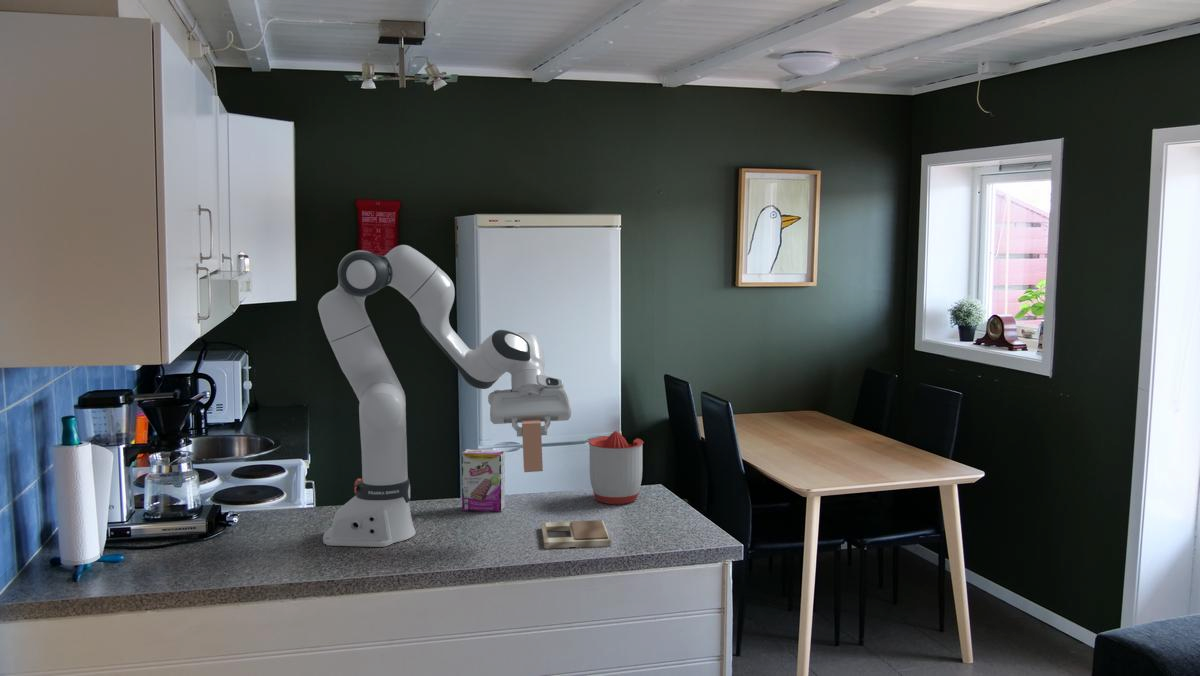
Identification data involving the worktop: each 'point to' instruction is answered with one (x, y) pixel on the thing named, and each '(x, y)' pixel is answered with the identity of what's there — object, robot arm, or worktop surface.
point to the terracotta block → (532, 445)
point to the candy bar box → (483, 480)
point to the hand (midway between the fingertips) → (532, 434)
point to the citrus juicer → (615, 468)
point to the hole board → (575, 534)
